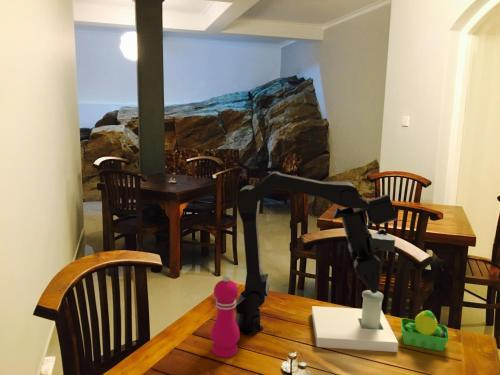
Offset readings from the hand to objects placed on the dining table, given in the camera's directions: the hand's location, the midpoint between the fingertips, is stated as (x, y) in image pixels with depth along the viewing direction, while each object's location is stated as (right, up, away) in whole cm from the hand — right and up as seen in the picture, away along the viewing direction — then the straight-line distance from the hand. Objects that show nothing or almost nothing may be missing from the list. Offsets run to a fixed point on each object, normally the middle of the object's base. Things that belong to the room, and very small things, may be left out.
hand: (372, 285), depth 112 cm
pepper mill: (-38, -15, -5) cm, 41 cm away
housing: (-4, -14, +5) cm, 16 cm away
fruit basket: (+13, -16, 0) cm, 21 cm away
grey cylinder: (+1, -14, +4) cm, 14 cm away
